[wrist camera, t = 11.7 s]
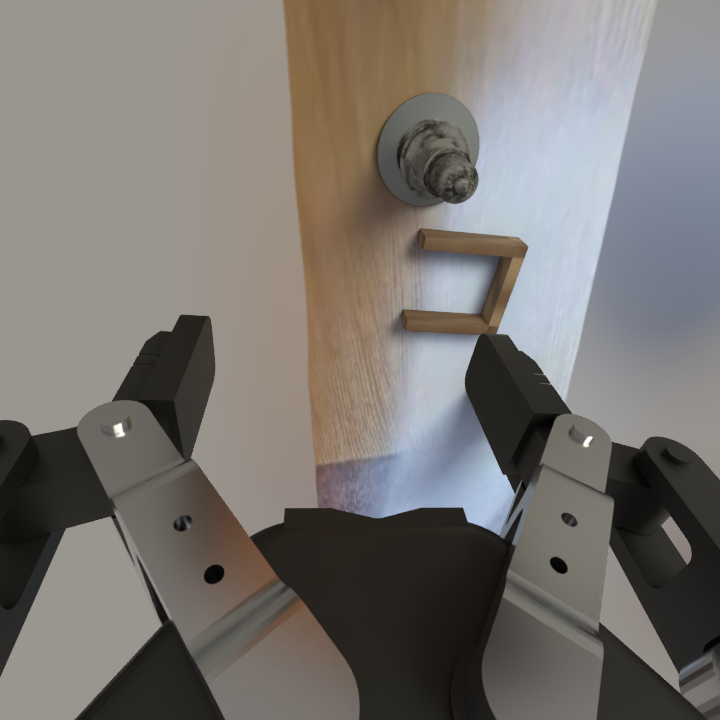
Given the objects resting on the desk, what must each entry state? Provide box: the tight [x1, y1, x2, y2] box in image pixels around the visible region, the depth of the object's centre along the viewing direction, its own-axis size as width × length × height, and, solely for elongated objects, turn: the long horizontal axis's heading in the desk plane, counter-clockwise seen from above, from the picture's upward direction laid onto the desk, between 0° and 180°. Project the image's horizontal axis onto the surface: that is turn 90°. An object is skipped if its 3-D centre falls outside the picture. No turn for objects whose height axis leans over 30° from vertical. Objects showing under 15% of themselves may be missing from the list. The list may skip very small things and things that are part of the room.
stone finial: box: [397, 120, 478, 204], centre depth 32 cm, size 6×6×12 cm
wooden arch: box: [402, 228, 528, 335], centre depth 44 cm, size 10×10×2 cm
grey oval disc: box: [377, 93, 479, 206], centre depth 37 cm, size 9×9×1 cm
